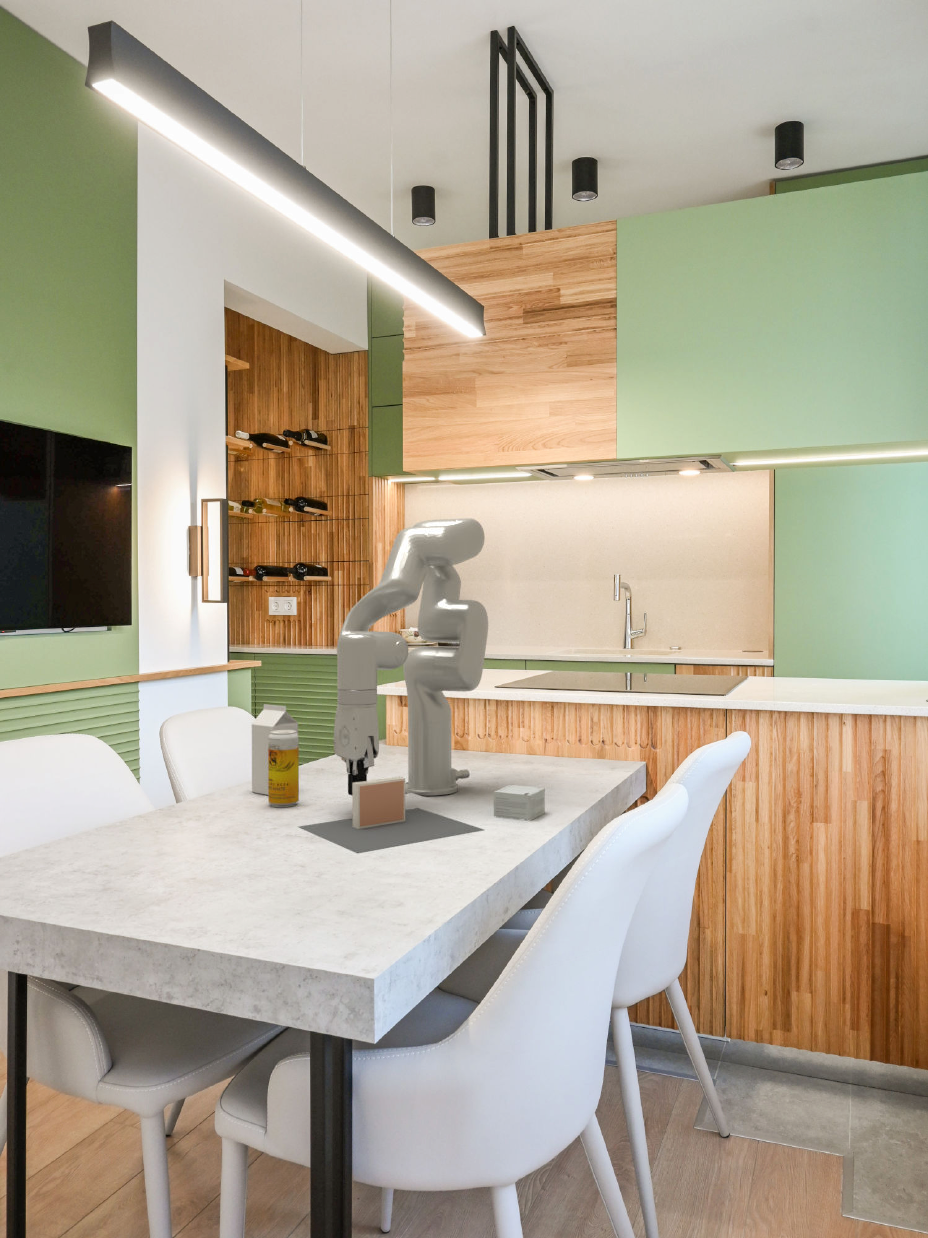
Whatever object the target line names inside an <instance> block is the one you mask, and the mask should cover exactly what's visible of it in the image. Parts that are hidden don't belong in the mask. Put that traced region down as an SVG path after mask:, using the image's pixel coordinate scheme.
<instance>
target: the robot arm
mask: <svg viewBox="0 0 928 1238" xmlns="http://www.w3.org/2000/svg"><path fill="white" fill-rule="evenodd" d="M485 538H486V537H485V532H484V528H483V526H482V524H481V522H479V521H478V520H476V519H473V518H450V519H448V518H447V519H430V520H423V521H420V522H417V523H415V524H414V525H413V526H411V527H410V526H409V527H407V528H406V527H405V528H404V529H401V530H400V531H399V533H397V535H396V537H395V539H394V541H393V545H392V547H391V550H390V553H389V555H388V558H387V561H386V563H385V567H384V570H383V573H382V575H381V577H380V581H379V582H378V585H376V586H375V587H374V588H372V589H371V590H370V591H368V592H367V593H366V594H365V595H363V597H362V598H360V599H359V601H357V602H356V603H355V604H354V605H353V606H352V607H351V609H350V610H349V611H348V613H347V615H346V617H345V620H344V622H343V624H342V627H341V631H340V634H339V635H338V640H337V645H336V655H337V664H336V665H337V667H336V668H337V669H336V670H337V671H336V672H337V673H336V674H337V681H336V682H337V686H336V687H337V703H336V704H337V706H336V709H335V717H334V727H333V729H334V730H333V753H334V754H335V755H336V756H337V757H340V759H341V760H342V761H343V762H344V763H345V765H346V766H345V767H346V773H347V794H348V795H349V796H352V783H355V782H362V781H368V779H367V777H368V776H367V775H368V773H369V768H371V767H375V759H376V758H378V756H379V751H380V733H379V732H380V731H379V720H378V711H377V706H378V670H380V671H392V670H396V669H398V668H400V667H402V668H403V671H402V672H403V677H404V682H405V688H406V696H407V714H408V715H407V720H408V721H407V723H408V725H407V726H408V727H407V728H408V729H407V731H408V733H407V741H408V742H407V746H408V747H407V748H408V749H407V756H408V763H407V764H408V768H407V771H408V773H407V774H408V775H407V776H408V778H407V779H408V780H407V781H408V782H406V781H405V794H415V795H417V796H426V797H427V796H444V795H449V794H454V793H457V792H458V791H459V789H460V788H459V784H458V783H456V782H457V781H458V780H459V779H461V780H464V779H468V778H469V777H470V771H469V769H460V770H457V769H456V768H453V767H452V709H451V705H450V703H449V701H448V699H447V698H446V695H445V694H444V693H443V692H465V693H466V692H472V691H474V690H476V689H477V688H478V686H479V685H480V683H481V680H482V676H483V672H484V671H483V669H484V662H485V658H486V657H485V656H486V647H487V641H488V636H489V635H488V634H489V617H488V612H487V609H486V608H485V606H484V604H483V603H481V602H479V601H478V600H475V599H474V600H473V599H460V597H461V596H460V595H461V589H462V588H461V586H462V581H461V577H460V575H459V573H458V571H457V570H456V568H455V567H454V566H457V565H459V564H461V563H463V562H466V561H469V560H471V559H473V558H475V557H477V556H478V555H479V554H480V552H481V551H482V550H483V548H484V544H485ZM421 590H422V591H421ZM420 592H421V598H420V604H419V605H420V606H419V611H418V617H417V632H418V636H419V637H420V638H421V639H422V640H424V641H427V642H430V643H431V642H432V643H447V644H448V643H449V644H450V643H451V644H452V643H455V644H459V647H455V646H454V647H453V646H451V647H450V646H448V647H447V646H420V647H416V648H414V649H411V650H410V651H409V645H408V642H407V640H406V639H405V638H404V637H403V635H401V634H400V633H397V632H392V631H376V630H374V631H373V630H372V631H371V630H370V629H371V628H372V626H374V625H375V624H376V623H377V622H378V621H380V620H382V618H384V617H387V616H388V615H391V614H394V613H395V612H398V611H401V610H403V609H405V608H407V607H409V606H410V605H412V604H414V603H415V602H416V601H417V600H418V599H419V596H420Z"/></svg>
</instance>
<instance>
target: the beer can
mask: <svg viewBox="0 0 928 1238" xmlns="http://www.w3.org/2000/svg"><path fill="white" fill-rule="evenodd" d="M299 738H300V737H299V734H298V735H297V731H295V730H275V731H271V732H270V735H269V737H268V797H267V798H268V803H269V804H270V805H271V807H273V808H291V807H295V806H296V805H297V803H298V802H299V800H300V799H299V798H300V795H299V793H300V792H299V791H300V788H299V786H300V785H299V783H300V782H299V780H300V777H299V776H300V773H299V770H300V767H299V766H300V765H299V761H300V760H299V759H300V757H299V756H300V755H299V754H300V753H299V751H300V750H299V741H300V739H299Z"/></svg>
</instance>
